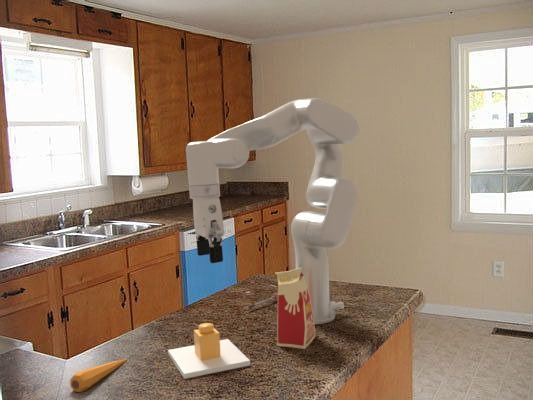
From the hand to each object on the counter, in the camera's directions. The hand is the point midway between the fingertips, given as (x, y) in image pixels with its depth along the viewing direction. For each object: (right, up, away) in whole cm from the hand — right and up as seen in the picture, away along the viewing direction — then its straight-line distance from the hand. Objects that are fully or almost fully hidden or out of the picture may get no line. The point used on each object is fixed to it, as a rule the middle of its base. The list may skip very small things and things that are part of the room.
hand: (210, 258), depth 143 cm
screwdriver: (+16, -19, +41) cm, 48 cm away
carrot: (-24, -27, -11) cm, 37 cm away
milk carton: (+22, -23, +6) cm, 32 cm away
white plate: (0, -24, -4) cm, 25 cm away
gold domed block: (0, -23, -4) cm, 24 cm away
